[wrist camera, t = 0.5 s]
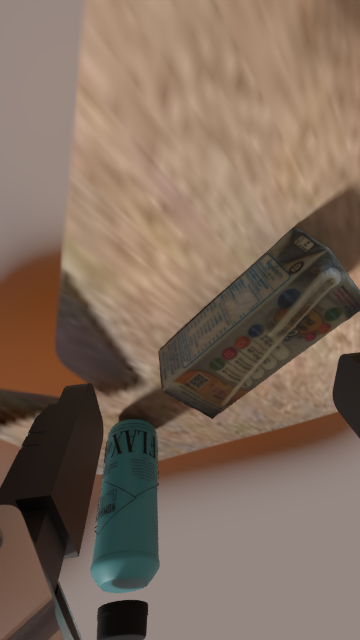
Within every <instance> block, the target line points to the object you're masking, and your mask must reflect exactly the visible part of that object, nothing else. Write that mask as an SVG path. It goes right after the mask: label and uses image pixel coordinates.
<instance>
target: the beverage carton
mask: <svg viewBox="0 0 360 640" xmlns="http://www.w3.org/2000/svg"><path fill="white" fill-rule="evenodd" d="M359 311H360V290H359V289H358V287H357V286H356V285H355V283H354V282H353V281H352V279H351V278H350V277H349V275H348V274H347V272H346V271H345V269H344V268H343V266H342V265H341V263H340V262H339V261H338V259H337V258H336V256H335V255H334V253H333V252H332V251H331V250H330V249H329V248H328V247H327V246H325V245H323V244H321V243H319V242H317V241H316V240H315V239H313V238H312V237H311V236H310V235H309V234H307V233H306V232H303V231H302V230H300V229H298V228H296V227H294V228H293V229H292V230H291V231H290V232H288V233H287V234H286V235H285V236H284V237H283V238H282V239H281V240H280V241H279V242H278V243H276V244H275V245H274V246H273V247H272V248H271V249H270V250H269V251H268V252H267V253H266V254H264V255H263V256H262V257H261V258H260V259H259V260H258V261H257V262H255V263H254V264H253V265H252V266H251V267H250V268H249V269H248V270H247V271H245V272H244V273H243V274H242V275H241V276H240V277H239V278H238V279H237V280H236V281H235V282H234V283H233V284H231V285H230V286H229V287H228V288H227V289H226V290H225V291H224V292H223V293H222V294H220V295H219V296H218V297H217V298H216V299H215V300H214V301H213V302H212V303H211V304H210V305H208V306H207V307H206V308H205V309H204V310H203V311H202V312H201V313H200V314H199V315H198V316H197V317H195V318H194V319H193V320H192V321H191V322H190V323H189V324H188V325H187V326H186V327H185V328H184V329H182V330H181V331H180V332H179V333H178V334H177V335H176V336H175V337H174V338H173V339H172V340H171V341H169V342H168V343H167V344H166V345H165V346H164V347H163V348H162V349H161V350H159V351H158V353H159V361H160V377H161V385H162V391H163V392H164V393H166V394H168V395H170V396H172V397H174V398H176V399H178V400H179V401H181V402H183V403H184V404H186V405H188V406H190V407H192V408H194V409H196V410H198V411H200V412H202V413H203V414H205V415H207V416H209V417H210V418H212V419H213V418H214V417H215V416H216V415H217V414H219V413H221V412H222V411H224V410H225V409H226V408H228V407H229V406H230V405H232V404H233V403H234V402H236V401H237V400H238V399H240V398H241V397H242V396H244V395H245V394H246V393H248V392H249V391H251V390H252V389H253V388H255V387H256V386H257V385H259V384H260V383H261V382H262V381H264V380H265V379H267V378H268V377H269V376H271V375H272V374H273V373H275V372H276V371H277V370H278V369H280V368H281V367H282V366H284V365H285V364H287V363H288V362H290V361H291V360H292V359H293V358H295V357H296V356H298V355H299V354H301V353H302V352H303V351H305V350H306V349H307V348H309V347H310V346H312V345H313V344H315V343H316V342H317V341H318V340H320V339H321V338H322V337H324V336H325V335H326V334H328V333H329V332H331V331H332V330H333V329H335V328H336V327H337V326H339V325H340V324H341V323H343V322H344V321H346V320H348V319H350V318H351V317H352V316H354V315H355V314H356V313H357V312H359Z"/></svg>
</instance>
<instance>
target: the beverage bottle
mask: <svg viewBox="0 0 360 640" xmlns="http://www.w3.org/2000/svg"><path fill="white" fill-rule="evenodd" d="M157 436H158V435H157ZM107 439H108V441H107V442H106V449H105V450H107V452H106V451H105V459H104V463H105V467H104V470H103V472H104V473H103V482H102V488H101V489H102V490H101V498H100V505H99V504H98V505H99V509H98V510H99V512H98V519H97V518H96V519H97V520H98V521H97V526H96V527H97V529H96V531H95V532H96V539H95V546H94V554H93V561H92V565H91V575H92V577H93V579H94V580H95V582H96V583H97V585H98V586H99V587H100V588H101V589H102V590H103V591H106V592H110V593H125V592H131V591H136V590H139V589H142V588H144V587H146V586H147V585H148V583H149V582H150V581H151V580H152V578H153V577H154V576H155V574H156V572H157V571H158V569H159V566H160V565H159V558H158V511H157V486H158V485H159V484H158V483H157V463H158V462H157V457H158V450H157V449H158V448H157V447H158V446H157V445H158V444H157V437H156V431H155V429H154V427H153V426H152V425H151V424H150V423H148V422H146V421H143V420H138V419H129V420H124V421H121V422H119V423H117V424H116V425H114V426H113V427H112V429H111V430H110V432H109V436H108V438H107ZM107 443H108V444H107ZM157 484H158V485H157ZM96 527H95V528H96ZM147 615H148V604H147V603H146V602H144V601H139V600H123V601H115V602H111V603H107V604H104V605H102V606H101V607H99V608H98V615H97V621H98V626H97V640H143V639H145V636H146V627H147Z"/></svg>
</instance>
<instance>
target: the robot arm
mask: <svg viewBox="0 0 360 640" xmlns="http://www.w3.org/2000/svg"><path fill="white" fill-rule="evenodd" d="M333 401H334V404H335V406H336V408H337V410H338V412H339V413H340V414H341V415H342V417H343V418H344V419H345V420H346V421H347V423H348V424H349V425H350V427H351V428H352V429H353V430H354V432H355V433H356V434H357V435H358V437H359V438H360V352H359V353H350V354H343V355H341V356H340V358H339V361H338V366H337V372H336V377H335V382H334V387H333ZM102 441H103V420H102V416H101V412H100V409H99V405H98V401H97V398H96V394H95V391H94V387H93V385H92V384H91V383H88V384H80V385H71V386H66V387H65V388H64V390H63V392H62V394H61V397H60V399H59V401H58V403H57V404H51V405H48V406H47V407H46V408H45V409H44V410H43V411H42V412H41V413H40V414H39V415H38V416H37V417H36V419H35V420H34V422H33V424H32V426H31V428H30V430H29V432H28V436H26V438H25V440H24V442H23V444H22V446H21V447H22V448H21V450H19V452H18V454H17V456H16V458H15V460H14V462H13V464H12V466H11V468H10V470H9V472H8V474H7V476H6V478H5V480H4V482H3V483H2V485H1V488H0V640H82V638H81V635H80V633H79V630H78V628H77V625H76V623H75V621H74V618H73V615H72V613H71V610H70V608H69V605H68V603H67V601H66V598H65V595H64V593H63V591H62V588H61V585H60V583H59V581H58V578H59V575H60V570H61V566H62V562H63V559H65V558H73V557H78V556H79V553H80V548H81V543H82V538H83V533H84V529H85V523H86V518H87V514H88V509H89V504H90V499H91V494H92V489H93V484H94V479H95V475H96V470H97V465H98V460H99V455H100V451H101V446H102Z"/></svg>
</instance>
